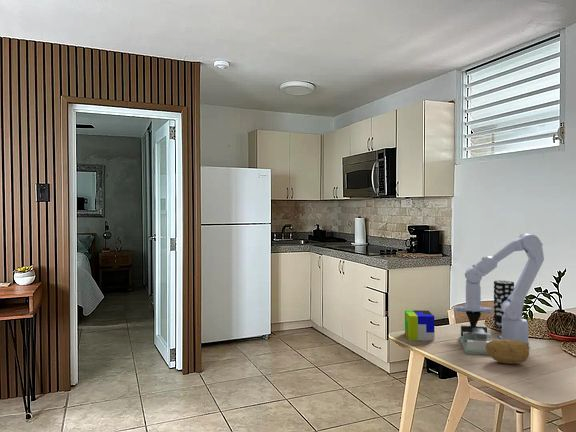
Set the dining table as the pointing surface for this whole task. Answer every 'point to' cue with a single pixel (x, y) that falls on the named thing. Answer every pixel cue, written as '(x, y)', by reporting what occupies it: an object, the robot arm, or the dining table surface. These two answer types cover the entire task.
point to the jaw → (467, 332)
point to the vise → (474, 346)
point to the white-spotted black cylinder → (501, 298)
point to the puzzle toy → (419, 325)
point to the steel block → (479, 334)
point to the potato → (508, 351)
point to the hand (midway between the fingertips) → (473, 329)
